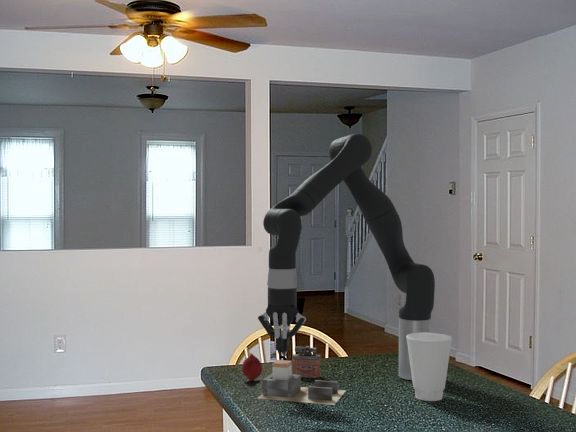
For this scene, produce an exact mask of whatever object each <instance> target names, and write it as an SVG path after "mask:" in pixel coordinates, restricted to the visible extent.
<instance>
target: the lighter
mask: <svg viewBox="0 0 576 432" xmlns="http://www.w3.org/2000/svg"><path fill="white" fill-rule="evenodd" d="M294 352H298V354H296V353H295V354H292V357H291V358H292V374H295V375H301V378H306V379H307V378H310V379H311V378H313V379H314V378H315V379H316V378H321V357H322V356H321V354H317V347H311V346H309V345H306V346H305V347H304V346H295V347H294Z"/></svg>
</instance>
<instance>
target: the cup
mask: <svg viewBox="0 0 576 432" xmlns="http://www.w3.org/2000/svg"><path fill="white" fill-rule="evenodd" d="M406 338H407V344H408V352H409V359H410V367H411V374H412V380H411V381H412V386H413V389H414V394H415V395H414V396H415V399H417V400H420V401H425V402H436V401H441V400H442V399H443V393H444V390H446V382H447V375H448V368H449V361H450V354H451V347H452V341H453V337H452V336H451V335H449V334H444V333H438V332H431V333H412V334H408V335H407V336H406Z"/></svg>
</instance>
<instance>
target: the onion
mask: <svg viewBox="0 0 576 432" xmlns="http://www.w3.org/2000/svg"><path fill="white" fill-rule="evenodd" d="M262 365H263V364H262V362H261V361H260V359H259V358H257V356H255V355H254V353H253V352H250V353H249V355H248V357H247V358H245V359H244V360H243V362H242V365H241V372H242V374H243V376H245V377H246V378H247V379H248V380H249V381H250V382H253V381H254V380H256V379H257V378H259V377H260V376H261V375H262V372H263V366H262Z"/></svg>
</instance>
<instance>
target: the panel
mask: <svg viewBox="0 0 576 432" xmlns="http://www.w3.org/2000/svg"><path fill="white" fill-rule="evenodd" d="M272 376H273V372H271V373H270V374H269V375H267V376H265V378H263V379H262V394H261V395H259V396H258V397H256V400H257V399H259V400H269V401H270V400H271V401H279V402H280V401H282V402H293V403H304V404H305V403H307V404H308V403H309V404H319V405H330V406H335V405H336V404H337V403H338V402H339V400H340V398H342V396H343V395H344V394H345V393H346V391H347V389H346V390H344V389H339V381H334V380H321V379H315V380H314V386H313V385H308V386H307V387H305V386H302V383H301V382H302V381H301V380H302V379H301V378H302V377H301V375H295V374H293V373H292V379H291V380H289V381H288V380H274V379H272Z"/></svg>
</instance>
